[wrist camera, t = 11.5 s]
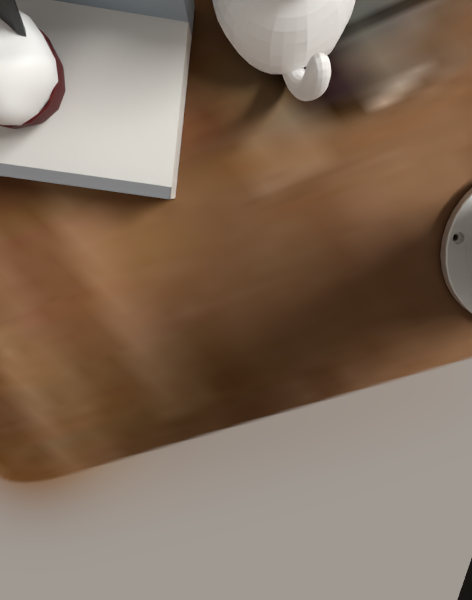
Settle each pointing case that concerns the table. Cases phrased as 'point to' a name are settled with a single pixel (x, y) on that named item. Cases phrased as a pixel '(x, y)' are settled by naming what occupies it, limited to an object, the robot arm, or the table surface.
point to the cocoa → (27, 71)
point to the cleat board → (109, 97)
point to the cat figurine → (287, 38)
